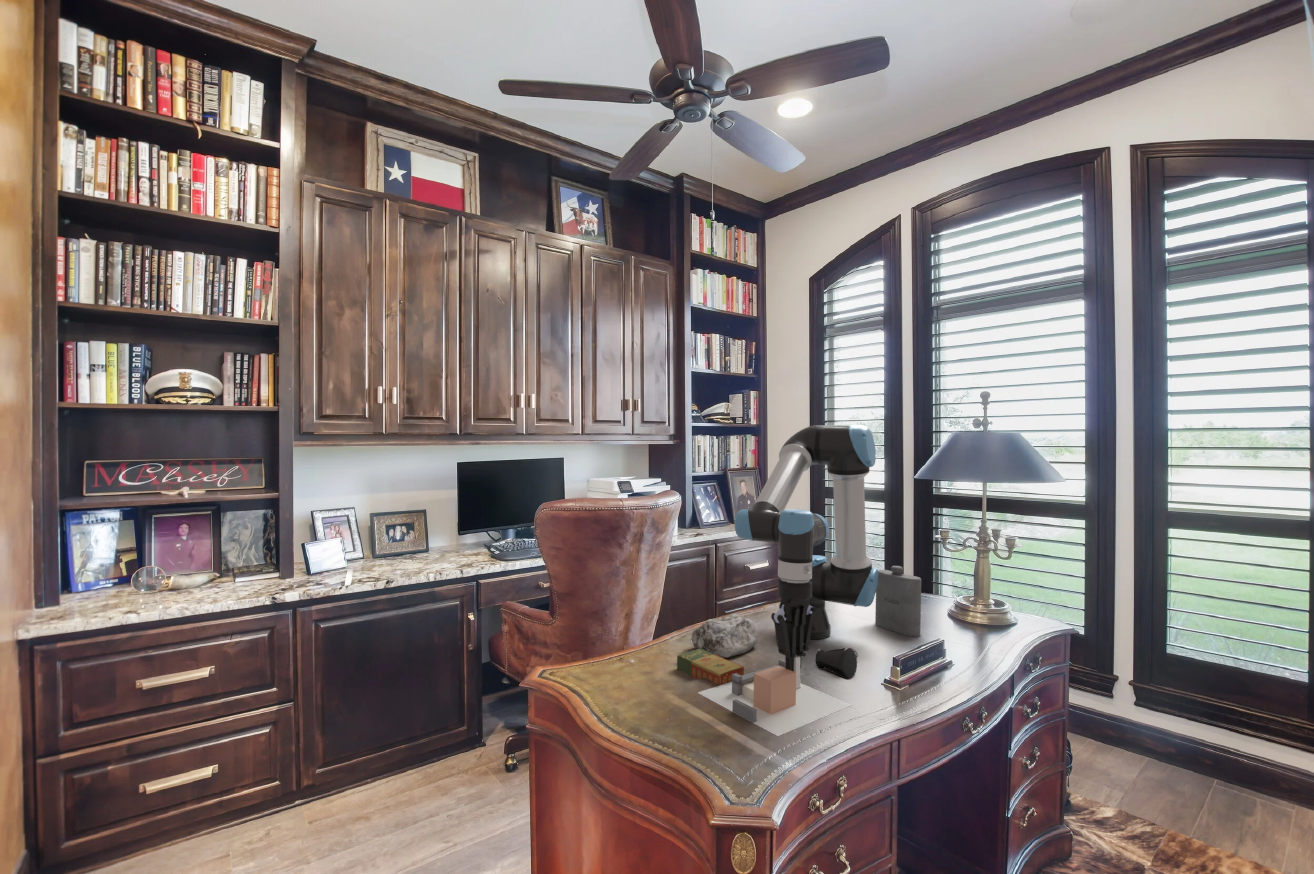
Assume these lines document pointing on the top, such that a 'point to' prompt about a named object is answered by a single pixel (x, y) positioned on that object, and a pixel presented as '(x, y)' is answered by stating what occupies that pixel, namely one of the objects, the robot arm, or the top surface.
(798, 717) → the board
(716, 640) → the decorative stone
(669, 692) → the top surface
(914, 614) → the flask
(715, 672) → the carton
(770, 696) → the block
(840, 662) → the black tapered cylinder
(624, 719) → the top surface
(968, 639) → the top surface
